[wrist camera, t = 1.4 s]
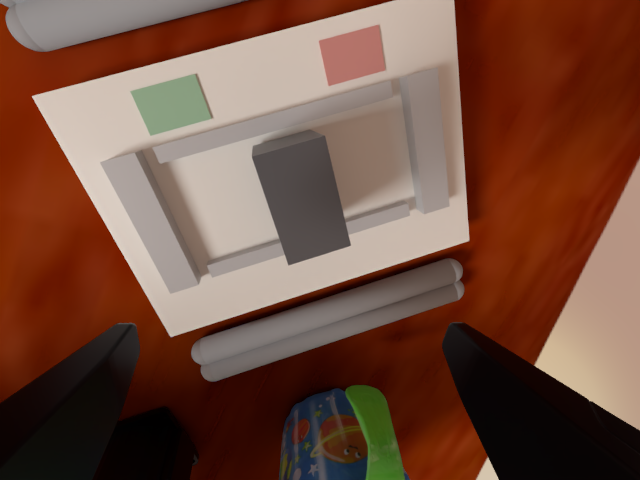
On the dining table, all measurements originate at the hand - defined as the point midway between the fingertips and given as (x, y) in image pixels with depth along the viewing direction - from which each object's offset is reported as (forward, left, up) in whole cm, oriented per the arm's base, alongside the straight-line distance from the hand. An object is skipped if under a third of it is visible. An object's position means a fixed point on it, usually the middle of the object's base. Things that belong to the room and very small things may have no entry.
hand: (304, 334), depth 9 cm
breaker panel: (+1, +2, -12) cm, 12 cm away
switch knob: (+1, +2, -10) cm, 10 cm away
